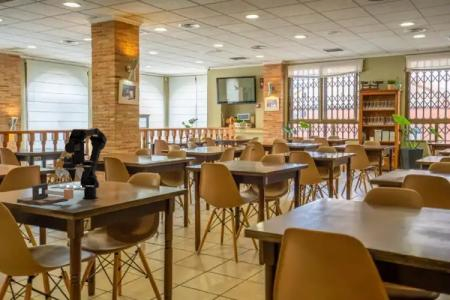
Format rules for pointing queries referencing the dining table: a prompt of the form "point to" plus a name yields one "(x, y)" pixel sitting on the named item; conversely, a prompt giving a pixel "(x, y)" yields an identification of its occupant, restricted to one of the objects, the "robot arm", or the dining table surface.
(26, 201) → the eye board
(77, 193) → the dining table surface
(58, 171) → the goblet set
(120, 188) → the dining table surface
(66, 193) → the pin
